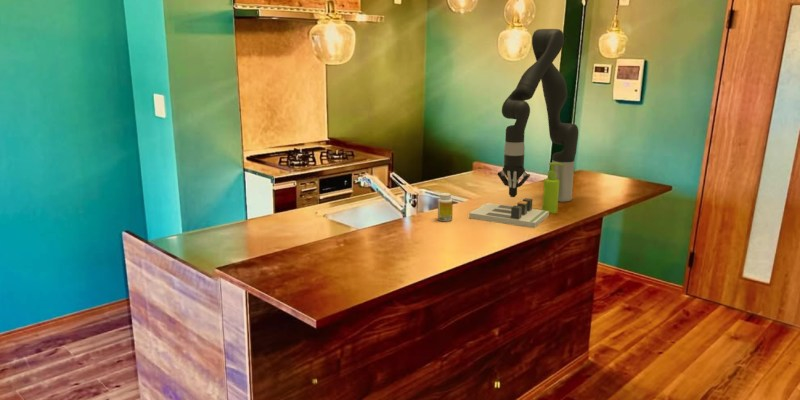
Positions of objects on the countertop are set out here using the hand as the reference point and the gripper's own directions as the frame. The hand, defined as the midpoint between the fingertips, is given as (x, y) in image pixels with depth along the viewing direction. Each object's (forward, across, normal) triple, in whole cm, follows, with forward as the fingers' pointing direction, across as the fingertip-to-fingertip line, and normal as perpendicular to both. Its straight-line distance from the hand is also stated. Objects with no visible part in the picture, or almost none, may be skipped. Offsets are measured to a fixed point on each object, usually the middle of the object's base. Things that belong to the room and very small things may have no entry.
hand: (512, 196), depth 219 cm
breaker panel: (+8, 0, +3) cm, 8 cm away
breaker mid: (+5, -5, +3) cm, 8 cm away
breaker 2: (+6, -5, -4) cm, 8 cm away
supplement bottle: (+7, +20, +19) cm, 29 cm away
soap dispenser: (+8, -12, -13) cm, 19 cm away
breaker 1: (+5, -5, +9) cm, 12 cm away
